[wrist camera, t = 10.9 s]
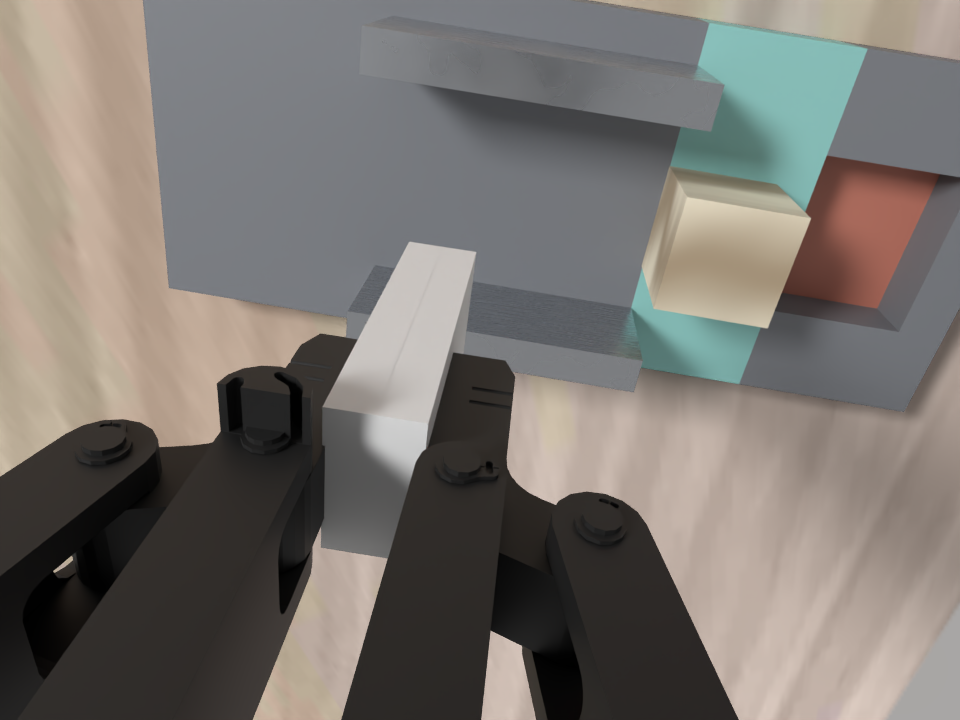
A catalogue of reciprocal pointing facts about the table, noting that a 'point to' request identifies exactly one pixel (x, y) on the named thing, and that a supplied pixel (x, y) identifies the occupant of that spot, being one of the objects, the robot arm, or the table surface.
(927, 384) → the table surface
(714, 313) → the brass block
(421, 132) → the tunnel deck
